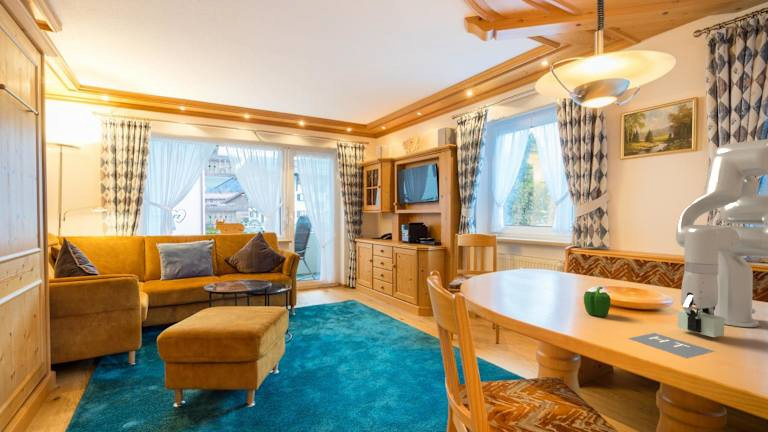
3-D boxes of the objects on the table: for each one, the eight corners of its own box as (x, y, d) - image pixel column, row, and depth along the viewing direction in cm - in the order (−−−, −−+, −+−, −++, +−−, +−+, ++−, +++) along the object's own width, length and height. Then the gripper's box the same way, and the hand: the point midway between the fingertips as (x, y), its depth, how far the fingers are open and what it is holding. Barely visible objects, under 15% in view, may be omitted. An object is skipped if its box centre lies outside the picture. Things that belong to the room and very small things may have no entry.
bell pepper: (596, 319, 123) (596, 290, 122) (578, 312, 131) (578, 285, 131) (617, 317, 124) (617, 289, 124) (598, 311, 132) (599, 284, 132)
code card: (654, 333, 109) (654, 332, 109) (715, 351, 95) (715, 351, 95) (627, 339, 105) (627, 338, 105) (686, 359, 91) (686, 358, 91)
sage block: (687, 325, 112) (688, 309, 112) (724, 334, 103) (724, 317, 103) (677, 327, 110) (677, 311, 110) (713, 337, 102) (713, 319, 101)
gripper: (703, 265, 113) (702, 322, 113) (668, 268, 107) (667, 329, 107) (733, 268, 106) (732, 330, 106) (698, 273, 100) (697, 338, 100)
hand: (700, 329), depth 107 cm, fingers closed on sage block, 4 cm apart
